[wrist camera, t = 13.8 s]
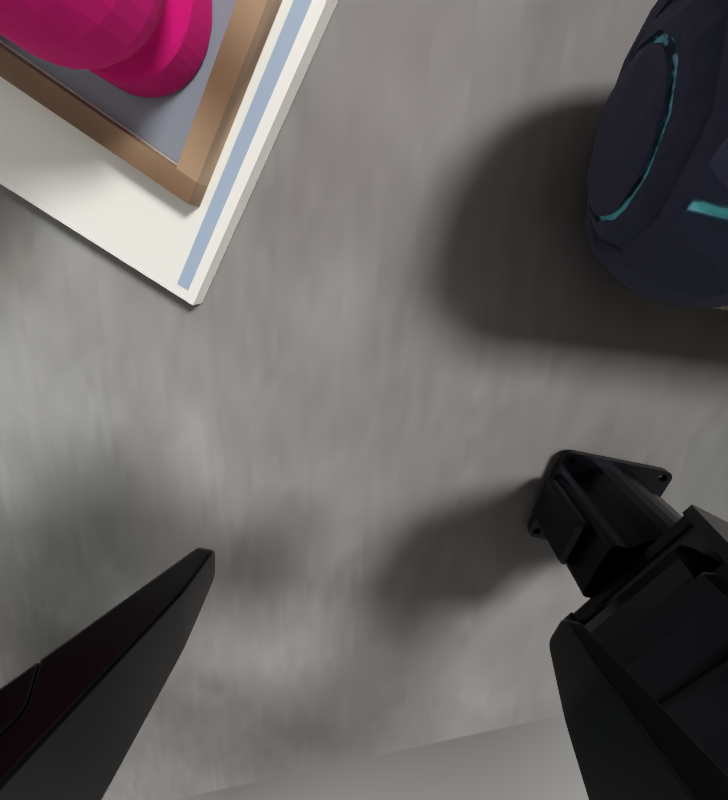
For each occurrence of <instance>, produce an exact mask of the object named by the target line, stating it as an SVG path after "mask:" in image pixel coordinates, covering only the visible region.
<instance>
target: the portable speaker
mask: <svg viewBox="0 0 728 800" xmlns="http://www.w3.org/2000/svg"><path fill="white" fill-rule="evenodd" d="M586 181H587V188H588V199H587V210H586V224H585V228H586V232H587V236H588V240H589V244H590V248H591V252H592V254H593V255H594V256H595V257H596V258H597V259H598V260H599V261H600V262H601V263H602V264H603V265H604V266H605V267H606V268H607V269H608V270H609V271H610V272H611V273H612V274H613V275H614V276H615V277H616V278H617V279H618V280H619V281H620V282H621V283H622V284H623V285H624V286H625V287H626V288H628V289H629V290H630V291H631V292H632V293H634V294H637V295H641V296H644V297H647V298H651V299H654V300H658V301H661V302H665V303H668V304H671V305H677V306H686V307H695V308H703V309H710V308H713V309H722V310H728V0H658V1H657V3H656V4H655V6H654V7H653V8H652V10H651V11H650V13H649V15H648V17H647V19H646V21H645V23H644V25H643V26H642V28H641V30H640V32H639V34H638V36H637V38H636V40H635V41H634V43H633V45H632V47H631V49H630V51H629V53H628V55H627V57H626V58H625V60H624V63H623V66H622V69H621V71H620V74H619V77H618V80H617V83H616V85H615V87H614V89H613V91H612V93H611V95H610V97H609V98H608V100H607V102H606V104H605V107H604V111H603V114H602V117H601V121H600V125H599V128H598V132H597V136H596V140H595V144H594V147H593V152H592V156H591V160H590V164H589V169H588V173H587V177H586Z"/></svg>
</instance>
